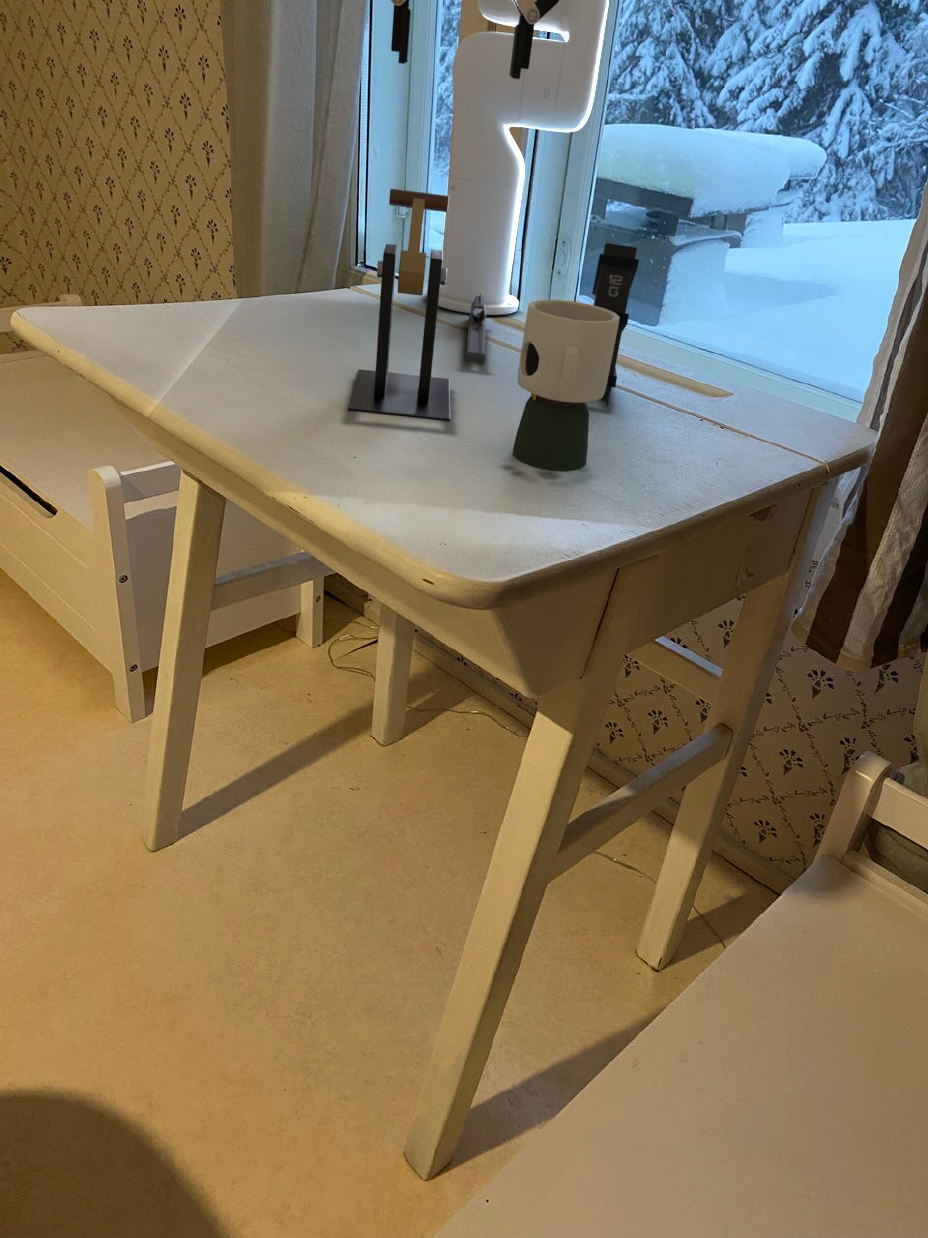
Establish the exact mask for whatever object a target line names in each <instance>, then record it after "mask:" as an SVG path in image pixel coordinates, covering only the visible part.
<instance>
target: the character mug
mask: <svg viewBox="0 0 928 1238" xmlns="http://www.w3.org/2000/svg"><path fill="white" fill-rule="evenodd" d="M619 318H620V317H619V316H618V315H617V314H616V313H614V312H612V311H609V310H607V309H604V308H601V307H597V306H594V305H593V304H589V303H583V302H578V301H572V300H561V299H539V300H534V301H531V302H529V303H528V305H527V311H526V317H525V324H524V332H523V338H522V343H521V344H522V345H521V349H520V356H519V365H518V372H517V384H518V386H519V387H521V389H523V390H525V391H528V392H529V393H530V396H529V398H528V399H527V401H526V402H525V404H524V408H523V411H522V414H521V417H520V421H519V424H518V428H517V431H516V435H515V440H514V442H513V447H512V450H513V452H512V457H514V458H515V459H516V460H517V461H519V462H520V463H522V464H524V465H527V466H529V467H531V468H534V469H539V470H542V471H543V470H544V471H548V472H562V473H563V472H566V473H567V472H574V471H578V470H581V469H582V468H584V466H586V465H587V457H588V450H589V449H588V448H589V429H590V427H589V426H590V412H589V408H588V405H587V403H591V402H592V403H593V402H596V401H600V400H599V399H602V397H603V395H604V393H605V389H606V386H607V380H608V375H609V370H610V365H611V360H612V355H613V350H614V345H615V340H616V335H617V330H618V325H619Z"/></svg>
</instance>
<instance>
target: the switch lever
mask: <svg viewBox="0 0 928 1238" xmlns="http://www.w3.org/2000/svg"><path fill="white" fill-rule="evenodd" d="M388 200H389V201H388V204H389V206H391V207H399V208H401V207H402V208H409V209H411V216H410V225H409V233H408V235H409V236H408V244H407V250H404V249H403V250H402V249H401V251H400V256H399V257H400V258H399V265H398V266H399V267H398V277H397V294H404V295H413V296H421V297H423V295H424V283H425V273H426V262H427V261H426V260H427V253H426V252H421V248H422V239H423V238H422V237H423V227H424V216H425V211H433V212H442V213H446V212H447V211H448V202H449V196H448V194H439V193H438V194H437V193H429V192H421V191H413V190H407V189H406V190H405V189H397V188H390V190H389V199H388Z"/></svg>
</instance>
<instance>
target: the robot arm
mask: <svg viewBox="0 0 928 1238" xmlns="http://www.w3.org/2000/svg"><path fill="white" fill-rule="evenodd" d="M609 1H610V0H476V4H477V7H478V10H479V12H480V14H481V15H482V16H483V17H484V18H485V19H486V20H489V21H491V22H493V23H496V24H500V25H504V26H510V27H514V33H510V32H509V33H508V32H501V31H500V32H499V31H481V32H476V33H473V34H469V35H467V37H465V38H464V39H463V40H461V42H460V43H459V44H458V46H457V48H456V49H455V53H454V56H453V61H452V74H451V75H452V77H451V79H452V104H453V105H452V107H453V111H452V112H453V116H452V117H453V128H452V146H451V158H450V168H449V169H450V170H449V177H448V178H449V179H448V188H447V189H448V190H447V196H449V202H448V211H447V212H445V220H444V228H443V229H444V231H443V239H442V249H441V250H442V268H446V269H447V273H446V283H445V285H440V289H439V299H438V307H440V308H443V309H446V310H450V311H455V312H459V313H466V314H469V313H470V312H471V305H472V303H473V301H474V299H475V296H480V294H481V297H484V299H485V306H486V316H497V315H498V316H501V315H502V316H503V315H509V314H513V313H516V311H518V310H519V304H520V303H519V300H518V299H517V297H515V296H513V295H511V294H510V285H511V279H512V278H511V276H512V269H513V263H514V262H513V261H514V255H515V248H516V241H517V233H518V227H519V217H520V211H521V203H522V202H521V201H522V195H523V188H524V183H525V172H526V171H525V169H526V168H525V161H524V157H523V154H522V152H521V150H520V149H519V147H518V145H517V143H516V141H515V140H514V138H513V136H512V134H511V133H510V128H512V127H516V128H528V129H535V130H543V131H551V132H560V133H572V132H577V131H579V130H581V129H582V128H583V127H584V126H585V124H586V123H587V122H588V119H589V117H590V114H591V112H592V108H593V103H594V99H595V93H596V88H597V82H598V75H599V67H600V61H601V56H602V55H601V54H602V48H603V42H604V36H605V28H606V22H607V16H608V10H609V3H610V2H609ZM390 2H391V3H392V5H393V13H392V29H391V46H390V51H391V52H395V53H396V52H397V53H398V61H397V63H398V64H402V65H405V64H407V63H408V62H409V49H410V47H409V46H410V38H411V37H410V36H411V22H412V20H411V19H412V10H411V9H410V0H390ZM535 30H538V31H543V32H544V31H545V32H550V33H551V32H553V33H557V34H558V33H559V34H560V35H561V37H562V38H563V39H564V40H557V39H549V38H543V37H542V38H541V37H534V33H535ZM482 310H483V309H479V308H475V309H474V312H476V313H480V312H481V311H482Z"/></svg>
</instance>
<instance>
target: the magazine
mask: <svg viewBox="0 0 928 1238" xmlns="http://www.w3.org/2000/svg"><path fill="white" fill-rule="evenodd" d="M603 247H604V248H603V252H602V253H600V254H599V256H598V261H597V267H596V270H595V271H596V272H595V276H594V282H593V286H592V292H591V295H594V299H593V304H592V305H594V306H597V307H601V308H604V309H607V310H609V311H612V312H614V313H616V314H617V315H618V316H619V317H620V318H619V325H618V330H617V335H616V340H615V345H614V350H613V355H612V360H611V365H610V370H609V375H608V380H607V386H606V389H605V393H604V395H603V397H602V399H599V400H598V401H601V402H604V403H605V406H606V407H607V408H608V406H609V401H610V398H611V397H610V396H611V391H612V388H616V385H617V380H618V375H617V368H616V367H617V366H616V365H617V360H618V356H619V350H620V344H621V340H622V339H621V338H622V335H623V332H624V330H625V328H626V327H627V326H628V323H629V317H630V313H627V307H628V301H629V296H630V291H631V288H632V286H633V282H634V280H635V277H636V274H637V271H638V268H639V264H640V263H639V262H640V259H638V258H636V257H637V253H638V252H637V251H638V248H637V247H636V246H630V245H622V244H617V243H610V242H608V243H607V242H606V243H605V244H604V246H603Z"/></svg>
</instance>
